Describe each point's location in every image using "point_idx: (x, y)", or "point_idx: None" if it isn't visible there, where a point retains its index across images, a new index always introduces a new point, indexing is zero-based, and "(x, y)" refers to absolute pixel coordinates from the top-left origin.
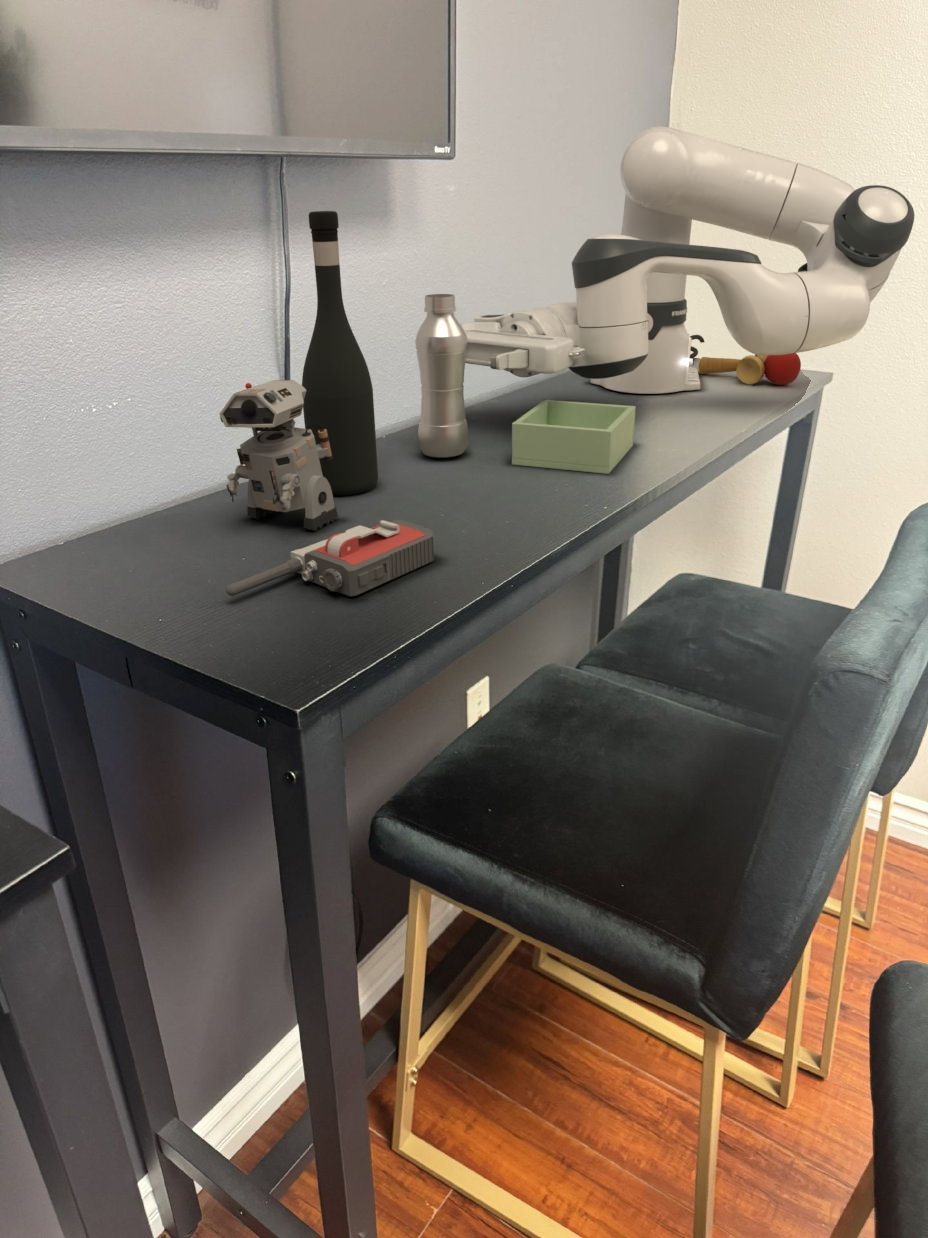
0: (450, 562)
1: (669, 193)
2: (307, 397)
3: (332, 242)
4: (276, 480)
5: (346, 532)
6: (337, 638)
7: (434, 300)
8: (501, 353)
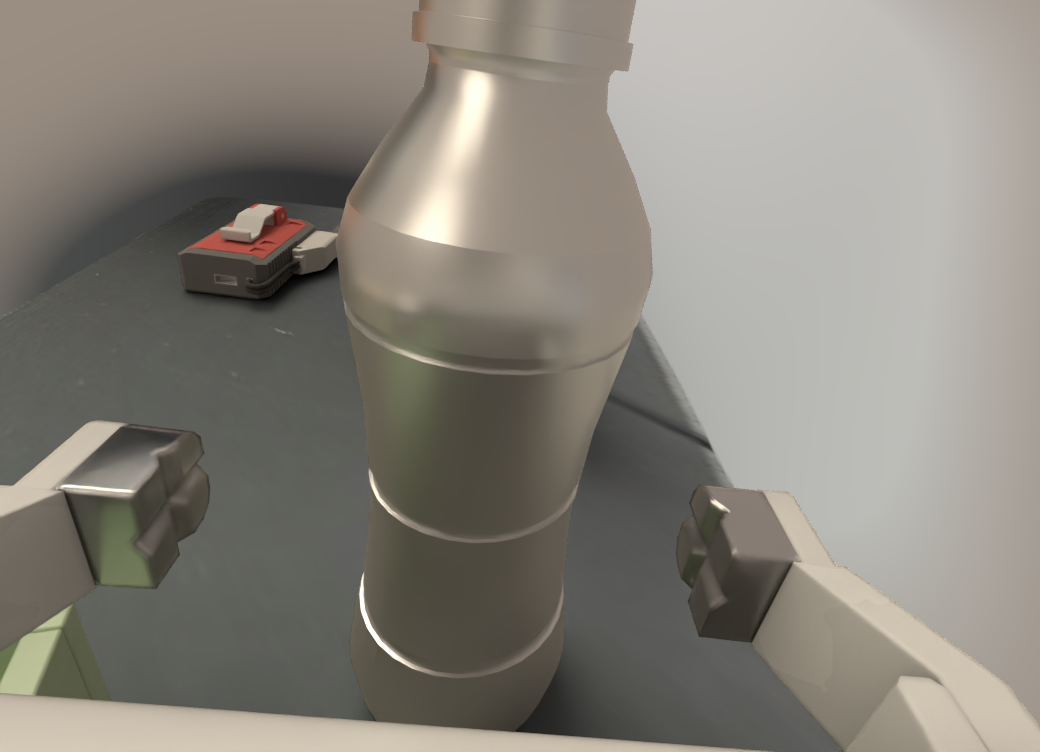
0: (159, 293)
1: None
2: None
3: None
4: None
5: (270, 210)
6: (227, 223)
7: None
8: (89, 479)
